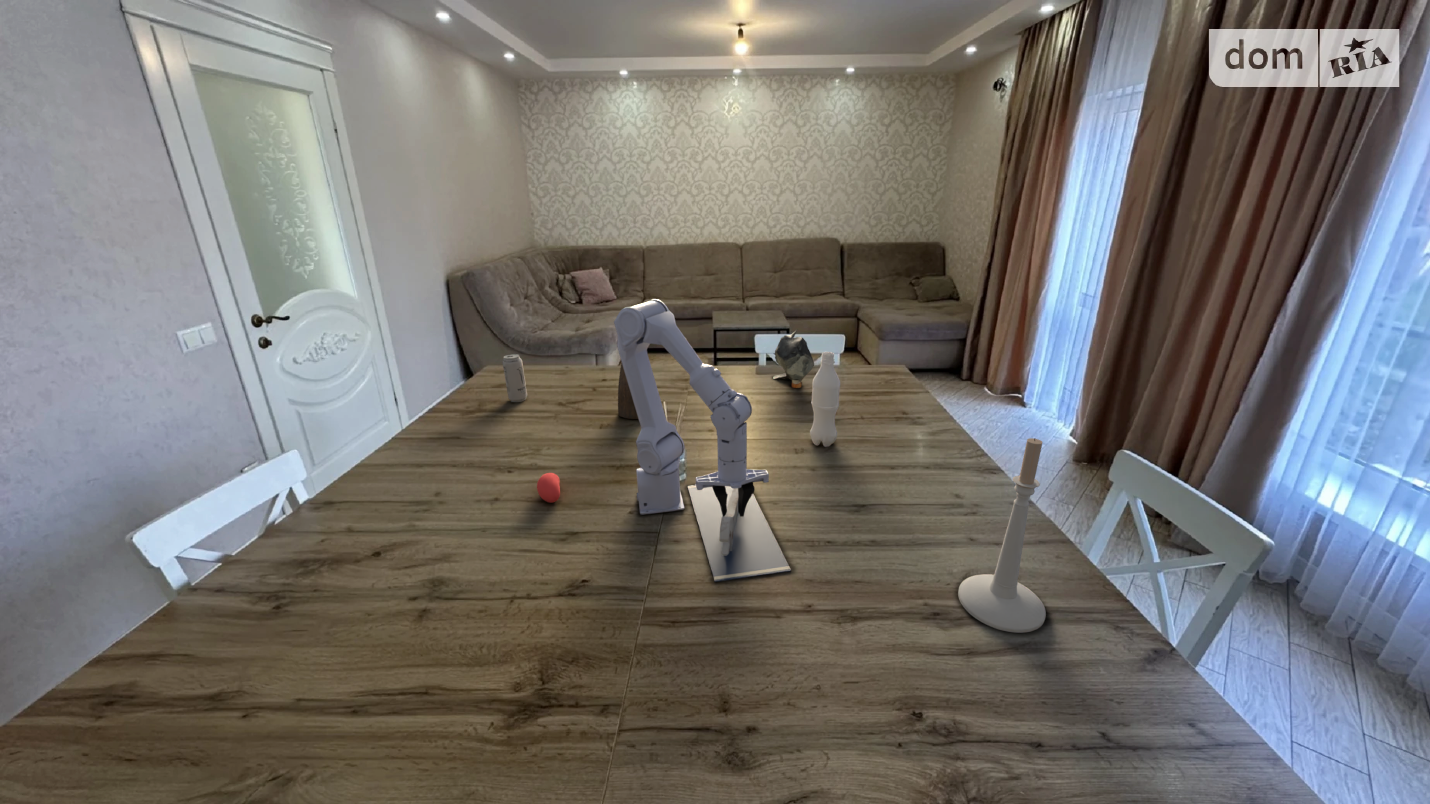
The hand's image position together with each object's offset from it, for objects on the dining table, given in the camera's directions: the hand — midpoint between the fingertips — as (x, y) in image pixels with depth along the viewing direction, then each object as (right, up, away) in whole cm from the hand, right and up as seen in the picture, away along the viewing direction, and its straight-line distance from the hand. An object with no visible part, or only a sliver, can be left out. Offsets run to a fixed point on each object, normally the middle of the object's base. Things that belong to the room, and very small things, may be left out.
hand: (732, 515), depth 113 cm
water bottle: (+25, +12, +36) cm, 45 cm away
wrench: (0, -2, +1) cm, 2 cm away
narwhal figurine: (+24, +29, +80) cm, 88 cm away
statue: (-28, +19, +56) cm, 65 cm away
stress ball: (-41, +2, +13) cm, 43 cm away
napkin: (0, -2, +1) cm, 2 cm away
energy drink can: (-69, +24, +71) cm, 102 cm away
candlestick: (+43, -10, -22) cm, 50 cm away
